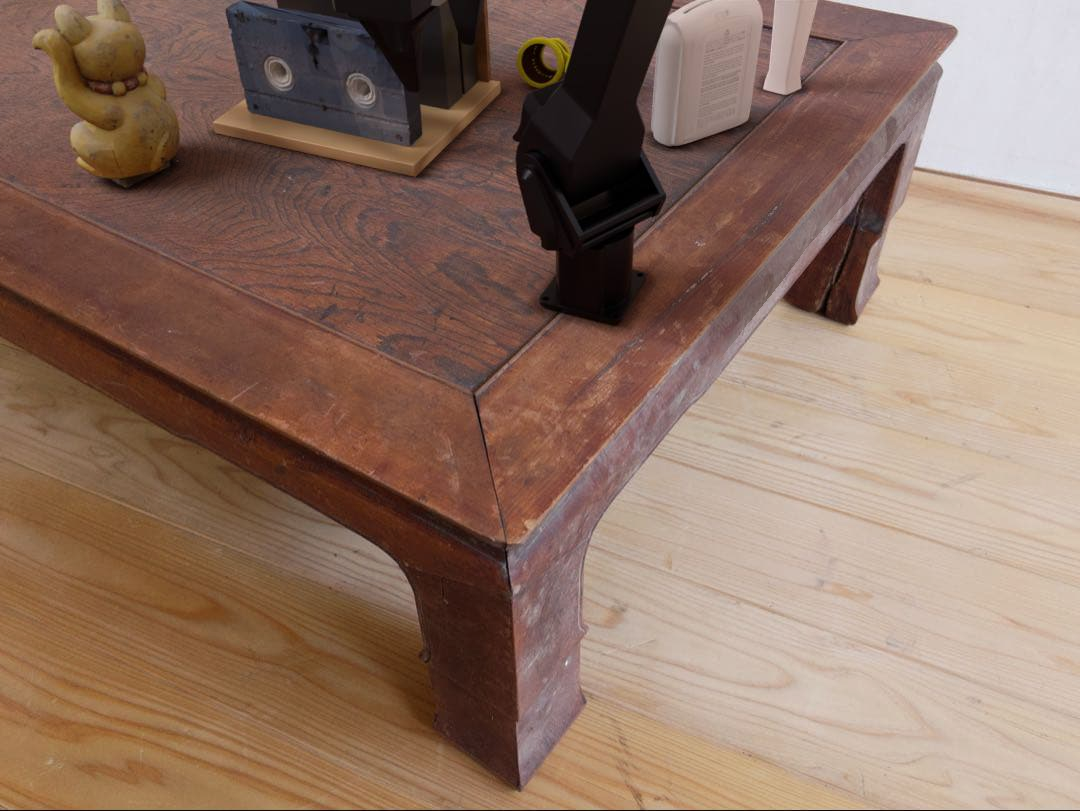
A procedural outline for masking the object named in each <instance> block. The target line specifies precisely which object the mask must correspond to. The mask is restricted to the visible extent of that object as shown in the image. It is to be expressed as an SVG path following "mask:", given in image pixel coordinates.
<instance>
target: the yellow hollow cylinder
mask: <svg viewBox="0 0 1080 811" xmlns="http://www.w3.org/2000/svg"><path fill="white" fill-rule="evenodd" d="M546 47H549V48H550V49H551V50H552V52H553V53H554V55H555V56H556V59H557V68H552V67H551V66H549V65H548V64H547V63H546V62H545V58H544V50H545V48H546ZM570 56H571V50H570V48H569V45H568V44H567V43H566V42H565V41H564V40H563V39H561V38H558V37H550V38H547V37H543V36H535V37H533V38H530V39H528V40H526V41H524V43H523V44H522V45H521V47H520V48H519V50H518V52H517V55H516V69H517V71H518V75H519V76H520V78H521V79H522V80H523V81H524V82H525V83H526V84H527V85H528V86H530V87H533V88H536V89H540V88H542V87H545V86H547V85H550V84H552V83H555V82H557V81H560V80H561V77H562V75H563V74H564V75H565V74H566V70H567V67H568V63H569V60H570Z"/></svg>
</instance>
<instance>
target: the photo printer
mask: <svg viewBox="0 0 1080 811" xmlns="http://www.w3.org/2000/svg"><path fill="white" fill-rule="evenodd" d="M763 15H764V14H763V9H762V6H761V4H760V2H759V0H694V1H691V2H689V3H687V4H685V5H683V6H681V7H680V8H678V9H676V10H675V11H673V12H672V13H671V14H669V15H668V17H667V20H666V23H665V25H664V28H663V31H662V33H661V36H660V39H659V41H658V44H657V47H656V52H655V53H656V54H655V67H654V80H653V93H652V105H651V106H652V107H651V122H650V124H651V125H650V127H651V132H652V133H653V138H654V140H655V141H656V142H658V143H659V144H661V145H663V146H667V147H677V146H683V145H687V144H690V143H692V142H695V141H698V140H701V139H705V138H707V137H710V136H713V135H716V134H719V133H721V132H724V131H728V130H730V129H734V128H737V127H738V126H741V125H743V124H744V123H747V121H748V120H749V118H750V113H751V107H752V102H753V101H752V100H753V93H754V87H755V79H756V72H757V65H758V59H759V52H760V47H761V38H762V32H763V26H764V16H763Z"/></svg>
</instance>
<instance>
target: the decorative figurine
mask: <svg viewBox="0 0 1080 811" xmlns="http://www.w3.org/2000/svg"><path fill="white" fill-rule="evenodd" d="M96 10H97V14H94V15H93V14H92V15H88V16H84V15H83V14H82V13H81V12H80V11H79V10H78V9H76V8H74V7H72V6H71V5H67V4H59V5H57V6H56V7H55V9H54V21H55V24H56V27H57V28H56V29H55V28H44V29H40V30H39V31H38V32H37V33H36V34H35V35H34V37H33V38H32V43H31V46H32V47H33V49H34V50H38V51H43V52H45V54H46V55H47V56H48V57H49V58H50V61H51V63H52V67H53V81H54V84H55V88H56V91H57V94H58V95H59V98H60V100H61V101H62V102H63V104H64V106H66V107H67V109H68V110H70V112H72V113H73V114H74V115H76V116H77V117H79V118H80V119H82V120H83V121H80V122H77V123H75V124H74V125H73V126H72V127H71V129H70V134H69V140H70V144H71V147H72V149H73V150H74V152H75V153H76V155H77V158H76V160H75V161H76V163H77V165H78V166H79V167H80V168H81V169H82V170H84V171H85V172H87V173H88V174H89V175H92V176H95V177H98V178H103V179H109V180H110V179H111V181H112V182H113V183H116V184H117V185H119V186H121V187H123V188H125V189H127V188H131V187H132V186H133V185H134V184H137V183H138V182H140V181H143V180H144V179H147V178H149V177H152V176H153V175H155V174H158V173H159V172H161V171H163V170H166V169H168V168H170V166H171V163H170V161H171V160H172V159H173V158H174V157H175V156H177V155H178V151H179V147H180V142H181V136H180V125H179V120H178V116H177V113H176V111H175V109H174V107H173V106H172V105H171V103H170V102H169V101H168V100H167V90H166V86H165V84H164V82H163V80H162V79H161V78H160V77H159V76H158V75H156V74H155V73H152V72H150V71H148V70H147V67H145V65H144V64H145V61H146V56H147V52H146V50H147V49H146V48H147V47H146V42H145V39H144V37H143V35H142V33H141V31H140V29H139V28H138V27H137V25H135V24H134V23H133V22H132V20H131V16H130V12H129V11H128V9H127V8H126V6H125V4H124V3H123V1H122V0H96Z"/></svg>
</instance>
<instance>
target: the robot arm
mask: <svg viewBox="0 0 1080 811" xmlns="http://www.w3.org/2000/svg"><path fill="white" fill-rule="evenodd" d="M447 1H448V4H449V7H450V11H451V14H452V17H453V20H454V23H455V26H456V29H457V32H458V34H459V37H460V40H461V42H462V43H463V44H465V45H474V44H475V42H476V39H477V34H478V29H479V25H480V20H481V16H482V11H483V6H484V2H485V0H447ZM674 2H675V0H586V1H585V5H584V8H583V10H582V11H583V12H582V15H581V18H580V22H579V26H578V29H577V32H576V36H575V39H574V42H573V47H572V49H571V52H570V54H571V56H570V60H569V63H568V67H567V70H566V74H565V73H564V78H562V79H559V80H558V81H557V82H555V83H552V84H550V85H547V86H545V87H542V88H536V89H535V90H532V91H530V92H528V93H527V94H526V96H525V99H524V100H523V102H522V106H521V115H520V117H521V118H520V122H519V125H518V128H517V131H516V132H515V133H514V134H513V135H512V140H513V141H514V142H516V143H518V144H517V147H516V151H515V174H516V179H517V183H518V187H519V190H520V194H521V198H522V202H523V207H524V210H525V214H526V219H527V221H528V226H529V230H530V232H532V233H533V234H534V235H535V236H536V237H539V240H540V247H541V248H542V249H544V250H545V251H548V252H555V275H554V276H553V278H552V279H551V281H550V282H549V284H548V285H547V287H546V288H545V289H544V291H543V292H542V293H541V295H540V296H539V300H538V302H539V305H540V306H541V307H543V308H546V309H550V310H555V311H558V312H563V313H567V314H570V315H573V316H578V317H582V318H587V319H590V320H595V321H598V322H602V323H605V324H609V325H620V324H621V323H622V322H623V320H624V318H625V316H626V315H627V313H628V311H629V310H630V308H631V306H632V305H633V303H634V302H635V300H636V298H637V296H638V295H639V293H640V292H641V290H642V288H643V286H644V285H645V283H646V281H647V273H646V272H644V271H641V270H637V269H633V264H634V249H635V248H634V246H635V230H636V225H638V224H640V223H642V222H644V221H646V220H648V219H650V218H655V217H657V216H659V215H660V213H661V212H662V208H663V206H664V204H665V203H666V199H667V194H666V191H665V189H664V187H663V185H662V184H661V181H660V180H659V178H658V176H657V174H656V172H655V170H654V167H653V166H652V163H651V162H650V160H649V159H648V156H647V155H646V153H645V151H644V149H643V145H644V144H643V143H644V140H645V134H646V124H645V122H644V119H643V116H642V113H641V110H640V107H639V105H638V104H639V103H638V98H639V94H640V91H641V90H642V86H643V83H644V81H645V78H646V76H647V73H648V70H649V68H650V65H651V62H652V60H653V57H654V55H655V53H656V50H657V44H658V41H659V39H660V36H661V33H662V31H663V28H664V25H665V23H666V20H667V17H668V16H669V15H670V12H671V9H672V7H673V3H674ZM332 3H333V8H334V10H335V11H336V12H341V13H346V15H347V17H349V18H354V19H357V20H358V21H359V22H360V24H361V25H362V26H363V28H364V29H365V30H366V31H367V33H368V34H369V35H370V36H371V38H372V39H373V40H374V42H375V43H376V45H377V46H378V47H379V49H380V51H381V52H382V53H383V55H384V56H385V58H386V60H387V61H388V63H389V64H390V66H391V67H392V69H393V70H394V72H395V73H396V75H397V76H398V78H399V80H400V81H401V83H402V84H403V86H404V87H405V89H406V90H407V91H409V92H414V93H418V92H420V91H421V85H422V26H423V24H424V23H425V22H426V21H427V20H428V19H429V18H430V16H431V15H432V14H433V13H434V12H435V11H436V9H437V6H431V3H432V0H332Z"/></svg>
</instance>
